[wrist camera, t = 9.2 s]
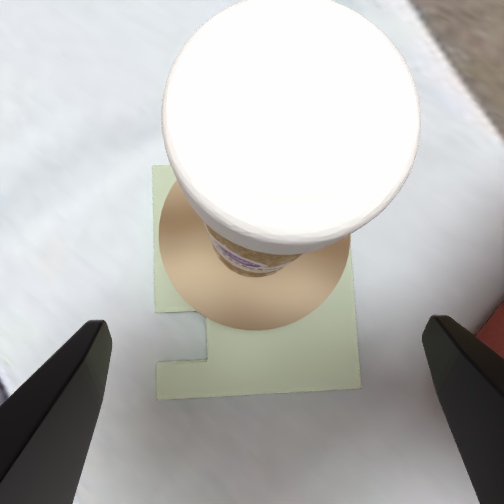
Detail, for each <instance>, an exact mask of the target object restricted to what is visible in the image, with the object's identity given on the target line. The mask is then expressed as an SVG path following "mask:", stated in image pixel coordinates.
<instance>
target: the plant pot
mask: <svg viewBox="0 0 504 504" xmlns="http://www.w3.org/2000/svg"><path fill="white" fill-rule="evenodd" d="M475 337H477V338H478V339H479V340H481V341H482V342H483V343H485V344H486V345H487V346H488V347H490V348H491V349H492V350H494V351H495V352H496V353H497V354H499V355H500V356H501V357H503V358H504V301H503V302H502V303H501V305H500V306H499V307H498V308H497V310H496V311H495V312H494V313H493V315H492V316H491V317H490V318H489V320H488V321H487V322H486V323H485V324H484V326H483V327H482V328H481V329H480V331H479V332H478V333H477V334H476V336H475Z"/></svg>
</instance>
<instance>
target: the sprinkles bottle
mask: <svg viewBox="0 0 504 504" xmlns="http://www.w3.org/2000/svg"><path fill="white" fill-rule="evenodd" d="M161 116H162V133H163V138H164V144H165V149H166V152H167V156H168V159H169V162H170V164H171V167H172V169H173V172H174V174H175V177H176V179H177V181H178V183H179V185H180V187H181V189H182V191H183V193H184V195H185V197H186V198H187V200H188V202H189V204H190V205H191V206H192V208H193V209H194V210H195V212H196V213H197V214H198V216H199V217H200V218H201V219H202V220H203V221H204V223H205V226H206V229H207V232H208V234H209V236H210V238H211V241H212V244H213V248H214V250H215V252H216V254H217V255H218V257H219V259H220V260H221V261H222V262H223V263H224V264H225V265H226V266H227V267H228V268H229V269H230V270H231V271H234V272H236V273H238V274H239V275H243V276H247V277H263V276H268V275H272V274H274V273H276V272H277V271H279V270H281V269H282V268H283V267H284V266H286V265H288V264H290V263H291V262H293V261H295V260H297V259H298V258H300V257H301V256H303V255H304V254H305V253H307V252H311V251H315V250H318V249H321V248H324V247H326V246H328V245H331V244H333V243H335V242H337V241H339V240H341V239H342V238H344V237H346V236H348V235H350V234H351V233H353V232H355V231H356V230H358V229H359V228H361V227H362V226H364V225H366V224H367V223H368V222H370V221H371V220H372V219H374V218H375V217H376V216H378V215H379V214H380V213H381V212H382V211H383V210H384V209H385V208H386V207H387V206H388V205H389V203H390V202H391V201H392V200H393V199H394V198H395V196H396V195H397V194H398V192H399V191H400V189H401V188H402V186H403V184H404V183H405V181H406V179H407V177H408V175H409V173H410V171H411V169H412V167H413V162H414V160H415V157H416V153H417V150H418V146H419V138H420V126H421V124H420V106H419V100H418V95H417V91H416V88H415V85H414V82H413V79H412V76H411V74H410V72H409V69H408V67H407V65H406V63H405V61H404V60H403V58H402V56H401V55H400V53H399V52H398V51H397V49H396V48H395V47H394V45H393V44H392V43H391V41H390V40H389V39H388V37H386V36H385V35H384V34H383V33H382V32H381V31H380V30H379V29H378V28H377V27H376V26H375V25H373V24H372V23H371V22H370V21H368V20H367V19H365V18H364V17H363V16H361V15H360V14H358V13H356V12H355V11H353V10H351V9H349V8H347V7H345V6H343V5H341V4H338V3H336V2H334V1H331V0H245V1H242V2H240V3H237V4H235V5H233V6H231V7H229V8H227V9H225V10H223V11H222V12H220V13H218V14H216V15H215V16H214V17H212V18H211V19H210V20H208V21H207V22H206V23H204V24H203V25H202V26H201V27H200V28H199V29H198V30H197V31H196V32H195V33H194V34H193V35H192V37H191V38H190V39H189V40H188V41H187V42H186V44H185V45H184V46H183V48H182V49H181V51H180V52H179V54H178V56H177V58H176V59H175V61H174V63H173V66H172V69H171V70H170V73H169V76H168V79H167V82H166V85H165V89H164V95H163V100H162V114H161Z"/></svg>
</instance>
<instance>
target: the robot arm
mask: <svg viewBox="0 0 504 504" xmlns="http://www.w3.org/2000/svg"><path fill="white" fill-rule="evenodd" d="M422 343H423V347H424V350H425V354H426V357H427V361H428V365H429V368H430V372H431V376H432V379H433V383H434V387H435V390H436V393H437V396H438V399H439V401H440V404H441V406H442V409H443V411H444V414H445V416H446V419H447V422H448V424H449V427H450V429H451V432H452V434H453V437H454V439H455V442H456V444H457V447H458V449H459V452H460V454H461V457H462V459H463V462H464V465H465V467H466V470H467V472H468V475H469V477H470V480H471V482H472V485H473V487H474V490H475V492H476V495H477V497H478V500H479V502H480V504H504V358H503V357H501V356H500V355H499V354H497V353H496V352H495V351H494V350H492V349H491V348H490V347H488V346H487V345H486V344H485V343H483V342H482V341H481V340H479V339H478V338H477V337H475V336H474V335H473V334H472V333H470V332H469V331H468V330H466V329H465V328H464V327H463V326H461V325H460V324H459V323H457V322H456V321H455V320H453V319H452V318H451V317H449V316H447V315H432V316H431V317H430V318H429V321H428V323H427V325H426V327H425V329H424V332H423V334H422ZM111 351H112V338H111V335H110V332H109V329H108V326H107V323H106V321H104V320H89V321H88V322H86V323H85V324H84V325H83V326H82V327H81V328H80V329H79V330H78V331H77V332H76V333H75V334H74V335H73V336H72V337H71V338H70V339H69V340H68V341H67V342H66V343H65V344H64V345H63V346H62V347H60V348H59V349H58V350H57V351H56V352H55V353H54V354H53V355H52V356H51V357H50V358H49V359H48V360H47V361H46V362H45V363H44V364H43V365H42V366H41V367H40V368H39V369H38V370H37V371H36V372H35V373H34V374H33V375H32V376H31V377H30V378H29V379H28V380H27V381H26V382H25V383H23V384H22V385H21V386H20V387H19V388H18V389H17V390H16V391H15V392H14V393H13V394H12V395H11V396H10V397H9V398H8V399H7V400H6V401H5V402H4V403H3V404H2V405H1V406H0V504H72V503H73V500H74V496H75V493H76V490H77V486H78V483H79V479H80V476H81V473H82V469H83V466H84V463H85V459H86V456H87V452H88V449H89V446H90V442H91V439H92V436H93V432H94V429H95V426H96V422H97V419H98V415H99V412H100V409H101V405H102V401H103V396H104V391H105V385H106V379H107V374H108V368H109V362H110V356H111Z"/></svg>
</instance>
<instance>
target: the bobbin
mask: <svg viewBox="0 0 504 504" xmlns="http://www.w3.org/2000/svg"><path fill="white" fill-rule="evenodd" d="M158 237H159V249H160V254H161V258H162V262H163V265H164V268H165V270H166V273H167V275H168V277H169V279H170V281H171V283H172V285H173V286H174V287H175V289H176V290H177V292H178V293H179V294H180V296H181V297H182V298H183V299H184V300H185V301H186V302H187V303H188V304H189V305H190V306H191V307H192V308H194V309H195V310H196V311H197V312H199V313H200V314H202V315H203V316H205V317H207V318H208V319H210V320H212V321H214V322H217V323H219V324H221V325H224V326H228V327H231V328H235V329H242V330H258V331H260V330H269V329H275V328H279V327H283V326H286V325H289V324H291V323H294V322H296V321H298V320H300V319H302V318H303V317H305V316H307V315H309V314H310V313H311V312H312V311H314V310H315V309H316V308H318V307H319V306H320V305H321V304H322V303H323V302H324V301H325V300H326V299H327V298H328V296H329V295H330V294H331V293H332V291H333V290H334V289H335V287H336V285H337V284H338V282H339V280H340V278H341V276H342V274H343V271H344V269H345V266H346V263H347V259H348V255H349V249H350V235H348V236H346V237H344V238H342V239H341V240H339V241H337V242H335V243H333V244H331V245H328V246H326V247H324V248H321V249H318V250H315V251H311V252H307V253H305V254H304V255H303V256H301V257H300V258H298V259H297V260H295V261H293V262H291V263H290V264H288V265H286V266H284V267H283V268H282V269H281V270H279V271H277V272H276V273H274V274H272V275H268V276H263V277H247V276H243V275H239V274H238V273H236V272H234V271H231V270H230V269H229V268H228V267H227V266H226V265H225V264H224V263H223V262H222V261H221V260H220V259H219V257H218V255H217V254H216V252H215V250H214V248H213V244H212V241H211V238H210V236H209V234H208V232H207V229H206V226H205V223H204V221H203V220H202V219H201V218H200V217H199V216H198V214H197V213H196V212H195V210H194V209H193V208H192V206H191V205H190V204H189V202H188V200H187V198H186V197H185V195H184V193H183V191H182V189H181V187H180V185H179V183H178V181H177V180H176V181H175V183H174V184H173V186H172V187H171V189H170V191H169V193H168V195H167V197H166V199H165V202H164V205H163V208H162V211H161V216H160V222H159V236H158Z"/></svg>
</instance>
